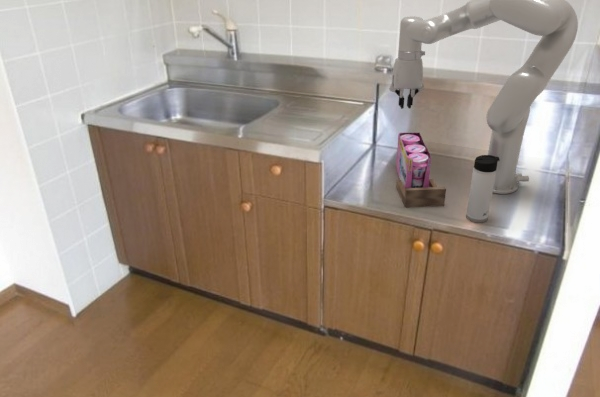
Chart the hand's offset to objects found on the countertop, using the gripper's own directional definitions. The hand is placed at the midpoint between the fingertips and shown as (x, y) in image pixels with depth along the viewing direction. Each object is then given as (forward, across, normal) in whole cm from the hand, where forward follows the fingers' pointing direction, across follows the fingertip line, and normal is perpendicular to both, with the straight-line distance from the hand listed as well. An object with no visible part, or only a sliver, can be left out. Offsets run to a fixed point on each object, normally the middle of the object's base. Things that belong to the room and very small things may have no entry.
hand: (405, 107), depth 177 cm
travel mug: (+21, -14, +43) cm, 50 cm away
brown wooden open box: (+21, 0, +28) cm, 35 cm away
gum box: (+21, 0, +16) cm, 27 cm away
